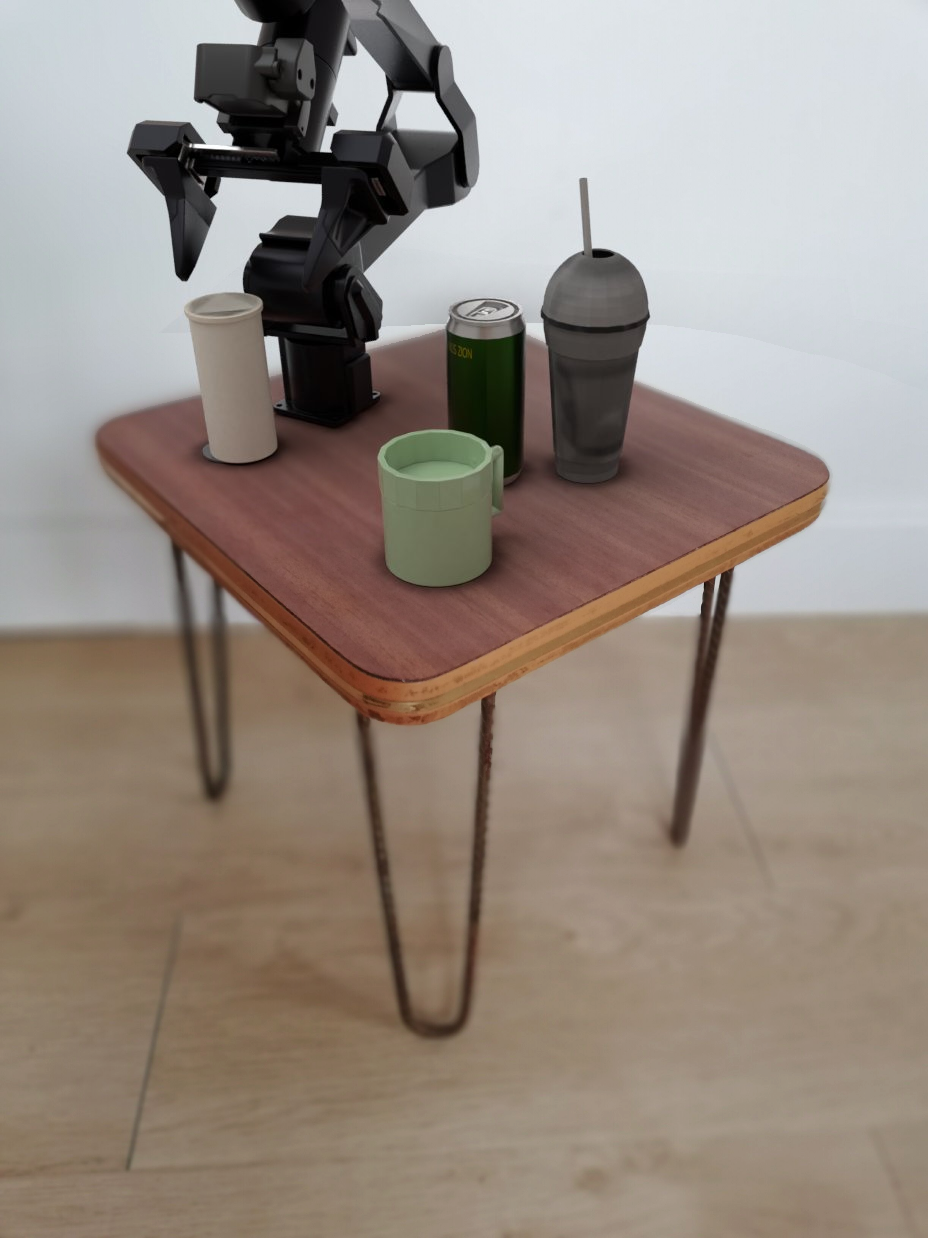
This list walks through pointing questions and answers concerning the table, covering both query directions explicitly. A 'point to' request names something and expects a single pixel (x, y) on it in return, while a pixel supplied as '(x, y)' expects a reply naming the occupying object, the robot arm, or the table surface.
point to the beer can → (488, 375)
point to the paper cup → (233, 375)
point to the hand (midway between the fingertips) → (242, 283)
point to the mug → (439, 505)
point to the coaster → (210, 455)
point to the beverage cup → (592, 354)
